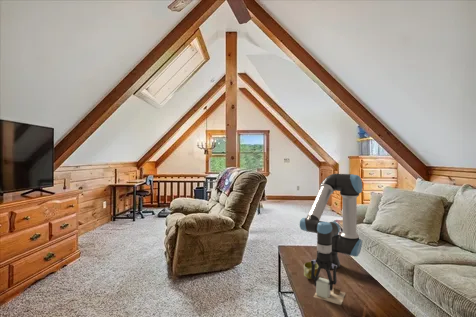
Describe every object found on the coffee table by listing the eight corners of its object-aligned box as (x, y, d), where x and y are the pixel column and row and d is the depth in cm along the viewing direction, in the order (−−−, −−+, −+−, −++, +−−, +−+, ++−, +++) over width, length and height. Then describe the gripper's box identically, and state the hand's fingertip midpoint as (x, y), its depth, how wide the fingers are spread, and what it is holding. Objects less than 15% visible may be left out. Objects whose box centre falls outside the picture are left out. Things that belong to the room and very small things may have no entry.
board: (319, 287, 150) (320, 280, 150) (345, 294, 143) (345, 287, 143) (313, 298, 138) (313, 291, 138) (341, 307, 131) (341, 299, 131)
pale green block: (319, 290, 144) (319, 277, 144) (329, 293, 141) (329, 279, 141) (316, 295, 139) (316, 281, 139) (327, 298, 136) (327, 284, 136)
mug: (307, 268, 171) (310, 256, 167) (320, 278, 164) (324, 266, 160) (296, 277, 163) (298, 265, 159) (309, 288, 156) (312, 275, 152)
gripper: (305, 249, 142) (304, 291, 142) (341, 257, 132) (340, 302, 132) (309, 245, 148) (308, 286, 148) (343, 252, 138) (342, 295, 139)
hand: (323, 293), depth 140 cm, fingers closed on pale green block, 6 cm apart
